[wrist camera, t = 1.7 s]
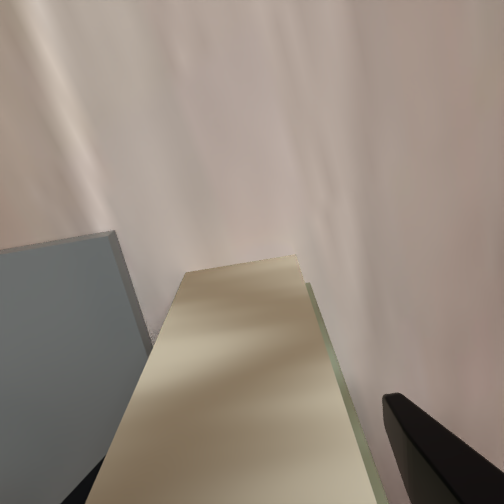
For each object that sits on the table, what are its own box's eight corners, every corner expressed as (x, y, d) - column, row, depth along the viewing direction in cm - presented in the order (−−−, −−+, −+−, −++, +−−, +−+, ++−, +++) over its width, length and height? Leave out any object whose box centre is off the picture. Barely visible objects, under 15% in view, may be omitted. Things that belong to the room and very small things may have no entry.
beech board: (302, 253, 10) (495, 748, 2) (329, 447, 12) (463, 1008, 4) (185, 272, 10) (-42, 792, 2) (235, 459, 12) (208, 1016, 5)
